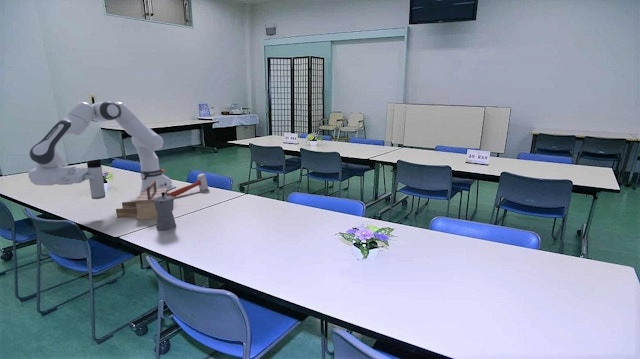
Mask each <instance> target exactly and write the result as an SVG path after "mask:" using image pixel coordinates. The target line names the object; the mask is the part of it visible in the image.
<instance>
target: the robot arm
mask: <svg viewBox="0 0 640 359" xmlns="http://www.w3.org/2000/svg"><path fill="white" fill-rule="evenodd" d="M113 120H114V121H116V123H117V124H118V125H119V126H120V127H121V128H122V129H123V131H125V132H126V133H127V134H128V135H129V136H131V143H132V145H133V146H134V147H135V150H136V153H137V155H138V157H139V162H140V164H139V165H140V178H141V187H140V192H142V191H143V190H144V189H147V188H148V186H149V185H150V184H151V182H152V181H153V180H156V188H157V189H159V188H168V191H169V190H172V189H173V190H174V189H175V188H177V186H176V185H175V184H173V183H172V182H173V181H172V180H171V178H170V177H168V176H167V175H165V174H163V173H165V172H166V170H165V169H164V168H163V169H160V163H159V162H160V161H159V157H158V156H157V154H156V152H155V151H157V150H160V149H162V148H163V146H164V139H163V137H162V136H160V135H159V134H157V132H155V131H154V130H153V129H152V128H150V127H149V126H147V125H146V124H145V123H144V122H143V121H142V120H141V119H140V118H139V117H138V115H136V114H135V113H134V112H133V110H131V108H129V107H128V105H126V104H125V103H123V102H121V101H114V102H112V101H109V100H108V101H98V102H95V103H88V102H85V101H79V102H77V103H76V104H74V106H72V108H71V109H70V110H69V111H68V113H67V114H66V115H65V117H64V118H63V119H62V120H59V121H58V122H57V123H55V125H53V127H52V128H51V129H50V130H49V131H48V132H47V133H46V135H45V136H44V137H43V138H41V140H40V141H39V142H37V143H36V144H34V145H33V146H32V147H31V149H30V150H29V158H30V159H31V160H32V161H33V162H35V163H37V164H36V165H35V166H34V167H33V168H32V169H30V170H29V171H28V178H29V181H30V182H31V183H32V184H33V185H36V186H54V185H59V186H64V185H65V186H66V185H67V186H68V185H73V184H82V183H84V182H85V181H87V180H88V181H89V179H94V178H96V175H88V168H87V167H77V166H70V167H69V166H68V167H65V159H64V157H62V155H61V154H59V153H58V152H57V151H56V146H57V145H58V144H59V143H60V142H61V140H62V139H63V138H64V137H65V136H67V135H71V136H81V135H83V133H85V132H86V131H87V130H88V127H89V126H90V124H91V123H92V122H94V123H95V122H96V123H98V122H108V121H109V122H110V121H113ZM151 189H154V186H152V188H151Z"/></svg>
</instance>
